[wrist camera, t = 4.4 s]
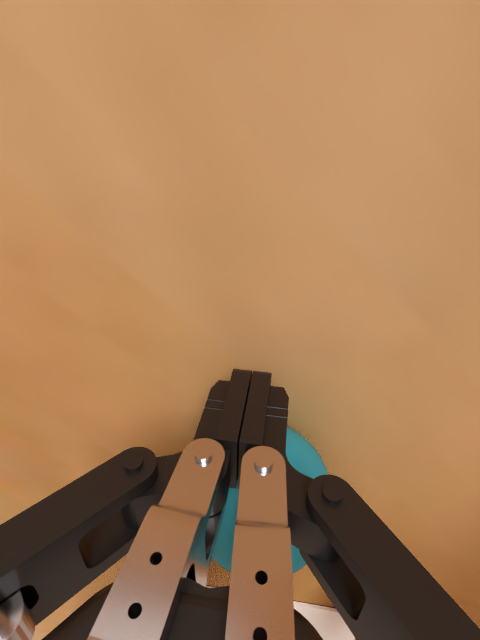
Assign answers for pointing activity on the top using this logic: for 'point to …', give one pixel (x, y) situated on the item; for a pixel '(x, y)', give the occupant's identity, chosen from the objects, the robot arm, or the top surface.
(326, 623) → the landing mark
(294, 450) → the ball
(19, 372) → the top surface
